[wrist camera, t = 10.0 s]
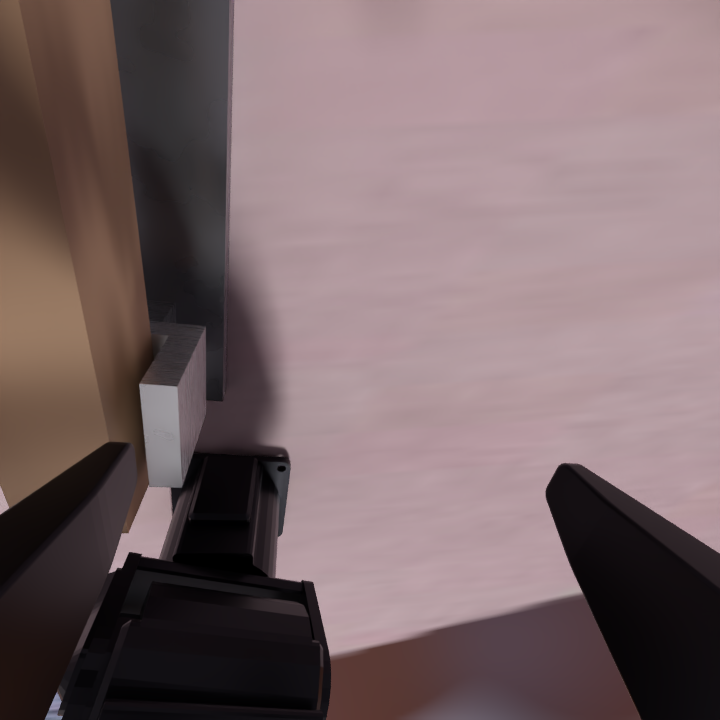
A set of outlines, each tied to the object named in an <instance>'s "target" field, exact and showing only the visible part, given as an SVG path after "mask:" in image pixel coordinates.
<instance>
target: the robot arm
mask: <svg viewBox="0 0 720 720" xmlns="http://www.w3.org/2000/svg"><path fill="white" fill-rule="evenodd" d="M281 465H283V466H284V467H279V466H281ZM290 467H291V463H290V461H289V459H287V458H284V457H265V456H242V455H219V454H196V453H193V455H192V459H191V462H190V465H189V468H188V471H187V474H186V477H185V480H184V483H183V486H182V488H174V487H171V489H172V505H173V517H172V520H171V523H170V526H169V529H168V532H167V536H166V539H165V542H164V545H163V548H162V551H161V554H160V557H159V559H155V558H149V557H143V556H141V555H142V554H138V553H132V552H129V554H128V556H127V559H126V561H125V563H124V566H123V568H117V570H116V571H115V572H112V573H109V570H110V568H111V565H112V562H113V559H114V556H115V553H116V550H117V546H118V543H119V540H120V537H121V534H122V530H123V527H124V524H125V521H126V517H127V514H128V511H129V508H130V504H131V501H132V498H133V495H134V492H135V488H136V484H137V467H136V458H135V449H134V446H133V444H131V443H129V442H107V443H105V444H103V445H102V446H100V447H99V448H98V449H96V450H95V451H93V452H92V453H90V454H89V455H87V456H86V457H84V458H83V459H81V460H80V461H78V462H77V463H75V464H74V465H73V466H71V467H70V468H68V469H67V470H65V471H64V472H62V473H61V474H59V475H58V476H56V477H55V478H53V479H52V480H50V481H49V482H48V483H46V484H45V485H43V486H42V487H40V488H39V489H37V490H36V491H34V492H33V493H31V494H30V495H28V496H27V497H25V498H24V499H23V500H21V501H20V502H18V503H17V504H15V505H14V506H12V507H11V508H9V509H8V510H6V511H5V512H3V513H2V514H0V720H45V717H46V715H47V713H48V711H49V708H50V706H51V704H52V701H53V699H54V697H55V695H56V692H58V694H59V697H60V699H61V701H62V702H61V705H60V708H59V711H58V714H57V715H58V716H63V717H62V720H326V717H327V711H328V706H329V698H330V689H331V664H330V656H329V650H328V646H327V641H326V637H325V632H324V628H323V623H322V619H321V615H320V610H319V606H318V601H317V597H316V593H315V588H314V584H313V582H310V581H304V580H302V581H301V582H297V581H291V580H285V579H279V578H275V574H276V557H277V539H278V537H279V536H280V535H281V534H282V532H283V524H284V516H285V508H286V500H287V492H288V484H289V476H290ZM546 500H547V503H548V505H549V508H550V511H551V514H552V517H553V519H554V522H555V525H556V528H557V531H558V533H559V536H560V539H561V542H562V545H563V547H564V550H565V553H566V556H567V558H568V561H569V563H570V566H571V568H572V570H573V573H574V575H575V577H576V579H577V581H578V584H579V586H580V588H581V590H582V592H583V594H584V597H585V599H586V601H587V603H588V605H589V607H590V609H591V612H592V614H593V616H594V618H595V620H596V623H597V624H598V627H599V629H600V631H601V633H602V635H603V638H604V640H605V642H606V644H607V646H608V648H609V651H610V653H611V655H612V657H613V659H614V661H615V664H616V666H617V668H618V670H619V672H620V675H621V677H622V679H623V681H624V683H625V685H626V688H627V690H628V692H629V694H630V696H631V698H632V701H633V703H634V705H635V707H636V709H637V711H638V714H639V716H640V718H641V720H720V553H718V552H716V551H715V550H713V549H712V548H710V547H709V546H707V545H705V544H704V543H702V542H701V541H699V540H698V539H696V538H695V537H693V536H691V535H690V534H688V533H687V532H685V531H684V530H682V529H680V528H679V527H677V526H676V525H674V524H673V523H671V522H670V521H668V520H666V519H665V518H663V517H662V516H660V515H659V514H657V513H655V512H654V511H652V510H651V509H649V508H648V507H646V506H645V505H643V504H641V503H640V502H638V501H637V500H635V499H634V498H632V497H631V496H629V495H627V494H626V493H624V492H623V491H621V490H620V489H618V488H616V487H615V486H613V485H612V484H610V483H609V482H607V481H606V480H604V479H602V478H601V477H599V476H598V475H596V474H595V473H593V472H591V471H590V470H588V469H587V468H585V467H584V466H582V465H580V464H572V463H563V464H561V465H559V466H558V468H557V469H556V471H555V473H554V475H553V477H552V479H551V480H550V482H549V484H548V486H547V488H546ZM108 573H109V574H108Z"/></svg>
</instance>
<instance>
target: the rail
mask: <svg viewBox="0 0 720 720" xmlns="http://www.w3.org/2000/svg"><path fill="white" fill-rule="evenodd" d="M153 361H154V355H153V347H152V339H151V331H150V322H149V314H148V306H147V298H146V290H145V282H144V274H143V265H142V257H141V249H140V241H139V233H138V225H137V216H136V208H135V200H134V192H133V184H132V176H131V167H130V159H129V151H128V143H127V135H126V127H125V118H124V110H123V102H122V94H121V86H120V78H119V69H118V61H117V53H116V45H115V37H114V29H113V20H112V12H111V4H110V0H0V486H1V488H2V491H3V493H4V496H5V498H6V501H7V503H8V506H9V508H11V507H12V506H14V505H15V504H17V503H18V502H20V501H21V500H23V499H24V498H25V497H27V496H28V495H30V494H31V493H33V492H34V491H36V490H37V489H39V488H40V487H42V486H43V485H45V484H46V483H48V482H49V481H50V480H52V479H53V478H55V477H56V476H58V475H59V474H61V473H62V472H64V471H65V470H67V469H68V468H70V467H71V466H73V465H74V464H75V463H77V462H78V461H80V460H81V459H83V458H84V457H86V456H87V455H89V454H90V453H92V452H93V451H95V450H96V449H98V448H99V447H100V446H102V445H103V444H105V443H107V442H129V443H131V444H133V446H134V449H135V458H136V467H137V484H136V488H135V492H134V495H133V498H132V501H131V504H130V508H129V511H128V514H127V517H126V521H125V524H124V527H123V530H122V533H129V530H130V528H131V525H132V523H133V521H134V518H135V516H136V514H137V511H138V509H139V506H140V504H141V502H142V499H143V497H144V495H145V492H146V490H147V487H148V485H149V479H148V468H147V458H146V448H145V438H144V428H143V418H142V408H141V398H140V387H139V383H140V382H141V380H142V378H143V377H144V375H145V374H146V372H147V370H148V369H149V367H150V366H151V364H152V362H153Z"/></svg>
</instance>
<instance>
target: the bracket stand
mask: <svg viewBox="0 0 720 720" xmlns="http://www.w3.org/2000/svg"><path fill="white" fill-rule="evenodd" d="M110 4H111V12H112V20H113V29H114V37H115V45H116V53H117V61H118V69H119V78H120V86H121V94H122V102H123V110H124V118H125V127H126V135H127V143H128V151H129V159H130V167H131V176H132V184H133V192H134V200H135V208H136V216H137V225H138V233H139V241H140V249H141V257H142V265H143V274H144V282H145V290H146V298H147V306H148V314H149V322H150V331H151V339H152V347H153V355H154V361H153V362H152V364H151V366H150V367H149V369H148V370H147V372H146V374H145V375H144V377H143V378H142V380H141V382H140V383H139V387H140V398H141V408H142V418H143V428H144V438H145V448H146V458H147V468H148V479H149V487H174V488H182V486H183V483H184V480H185V477H186V474H187V471H188V468H189V465H190V462H191V459H192V455H193V452H194V449H195V446H196V443H197V440H198V437H199V434H200V431H201V428H202V425H203V422H204V419H205V416H206V400H212V401H223V398H224V394H225V391H226V355H227V308H228V261H229V215H230V168H231V122H232V75H233V28H234V0H110Z"/></svg>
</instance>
